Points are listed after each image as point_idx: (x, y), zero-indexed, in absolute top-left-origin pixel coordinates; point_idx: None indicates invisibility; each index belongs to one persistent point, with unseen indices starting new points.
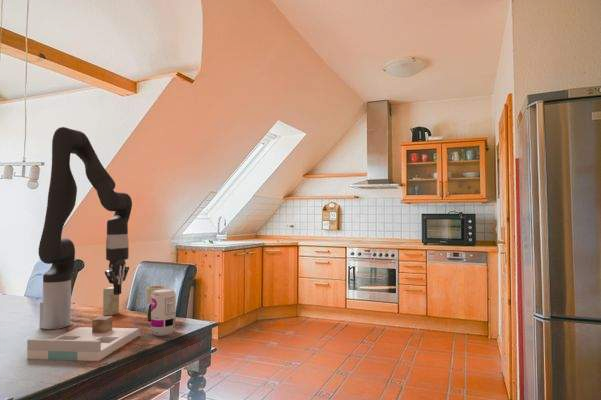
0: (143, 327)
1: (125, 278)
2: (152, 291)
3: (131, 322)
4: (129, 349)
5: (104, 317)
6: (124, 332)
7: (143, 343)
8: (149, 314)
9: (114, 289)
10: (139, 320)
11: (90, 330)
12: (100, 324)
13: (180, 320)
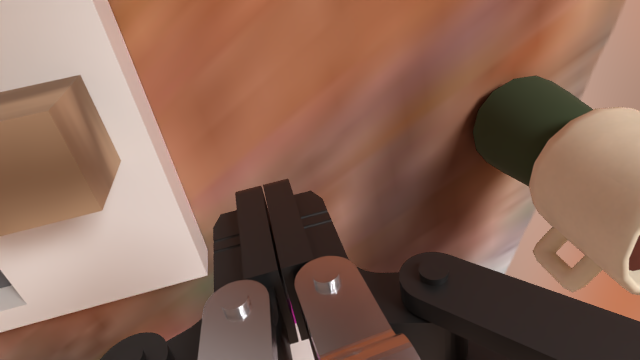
0: (345, 169)
1: (478, 355)
2: (598, 245)
3: (435, 22)
4: (23, 345)
5: (35, 184)
6: (107, 267)
7: (121, 335)
8: (497, 125)
9: (218, 261)
10: (484, 41)
11: (10, 31)
12: None
13: (487, 243)
